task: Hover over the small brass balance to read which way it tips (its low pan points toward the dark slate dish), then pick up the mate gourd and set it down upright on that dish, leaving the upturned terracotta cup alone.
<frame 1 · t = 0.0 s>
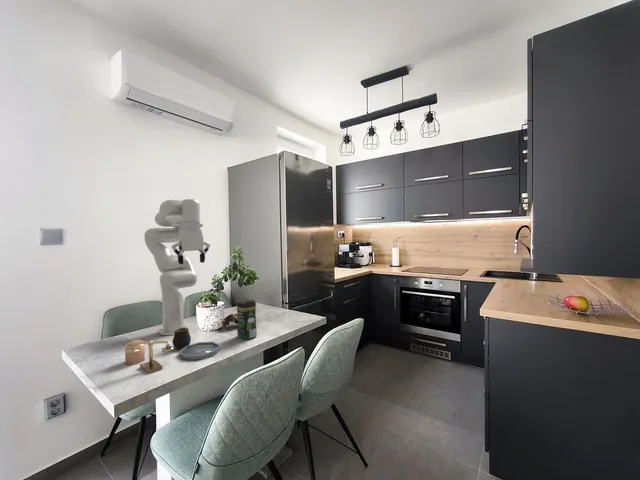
hand: (191, 263, 129), 37 cm above the table, tool pointing down, fingers open, 9 cm apart
dish: (200, 352, 117), on the table
pottery mug: (233, 327, 151), on the table
balance: (151, 368, 103), on the table
coffee jar: (247, 337, 135), on the table
mate gourd: (182, 347, 123), on the table
terracotta cup: (135, 361, 110), on the table
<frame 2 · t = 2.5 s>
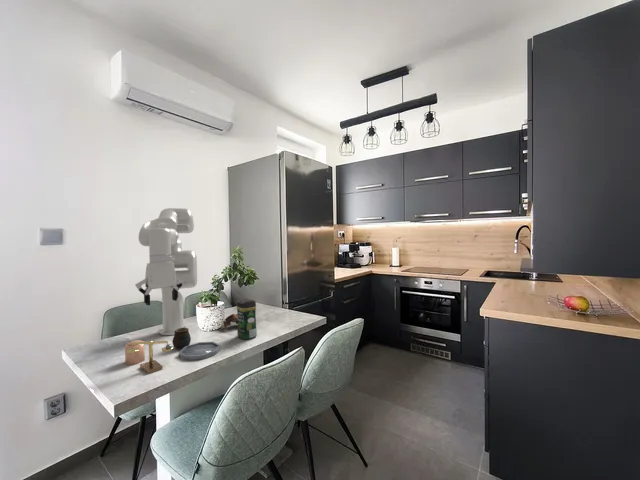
hand: (161, 302, 110), 23 cm above the table, tool pointing down, fingers open, 9 cm apart
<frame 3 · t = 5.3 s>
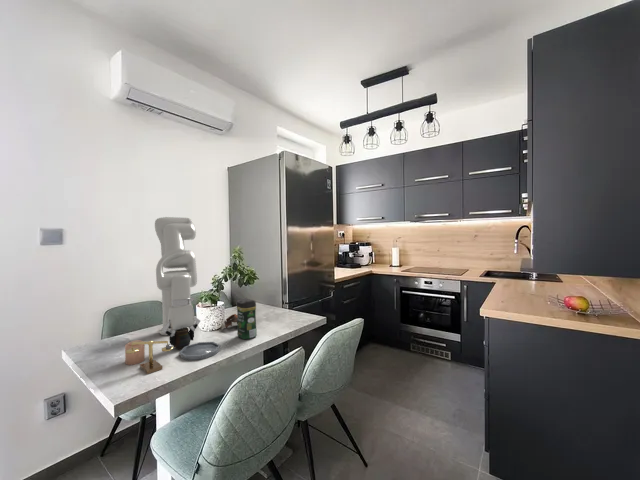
hand: (182, 342, 123), 2 cm above the table, tool pointing down, fingers closed on mate gourd, 7 cm apart
mate gourd: (182, 347, 123), on the table, touching gripper
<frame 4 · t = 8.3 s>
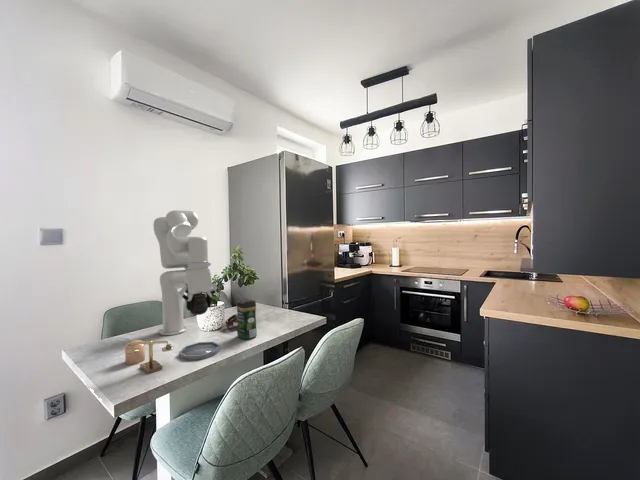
hand: (199, 308, 117), 19 cm above the table, tool pointing down, fingers closed on mate gourd, 7 cm apart
mate gourd: (199, 314, 117), point 16 cm above the table, touching gripper
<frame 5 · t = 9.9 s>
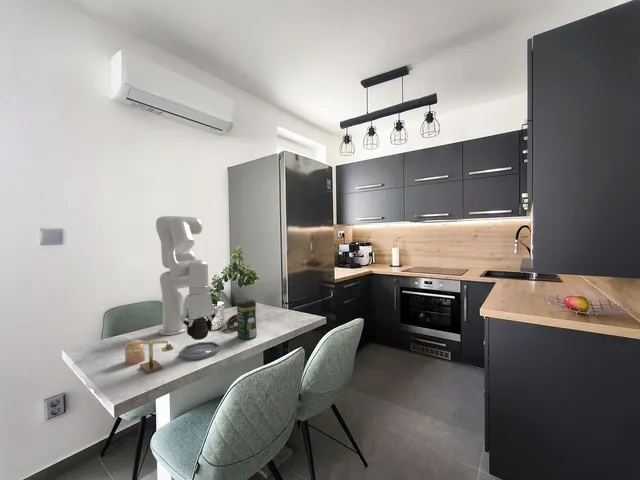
hand: (199, 332, 117), 8 cm above the table, tool pointing down, fingers closed on mate gourd, 7 cm apart
mate gourd: (200, 338, 117), point 6 cm above the table, touching gripper
when the fingers open (5 cm above the table, at t = 11.3 s): mate gourd drops 1 cm, resting on dish.
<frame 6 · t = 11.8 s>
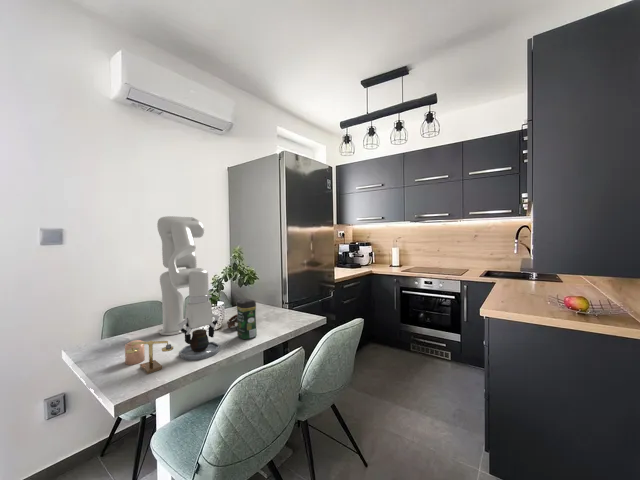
hand: (200, 339, 117), 5 cm above the table, tool pointing down, fingers open, 9 cm apart
mate gourd: (200, 350, 117), point 1 cm above the table, touching dish
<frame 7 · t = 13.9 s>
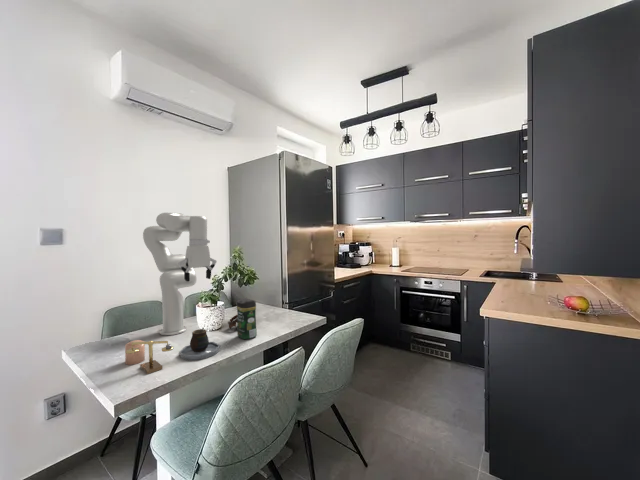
hand: (198, 279, 129), 29 cm above the table, tool pointing down, fingers open, 9 cm apart
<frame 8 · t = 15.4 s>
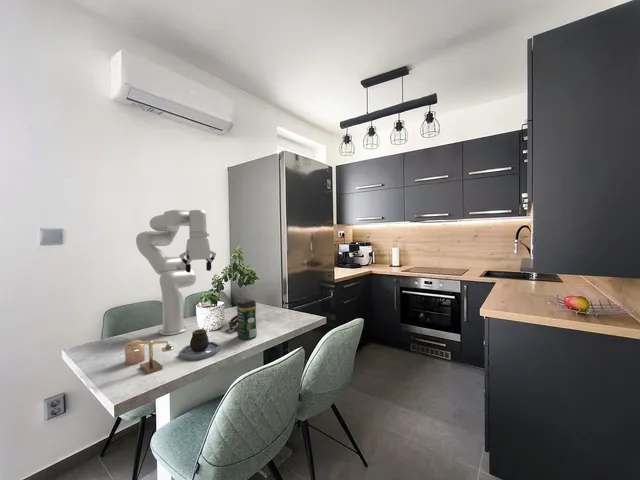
hand: (198, 271, 133), 32 cm above the table, tool pointing down, fingers open, 9 cm apart
at the end: mate gourd inside the target area on the dish (0.2 cm from its centre), point 0.8 cm above the dish's base; mate gourd tilted 0°; the gripper is holding nothing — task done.
